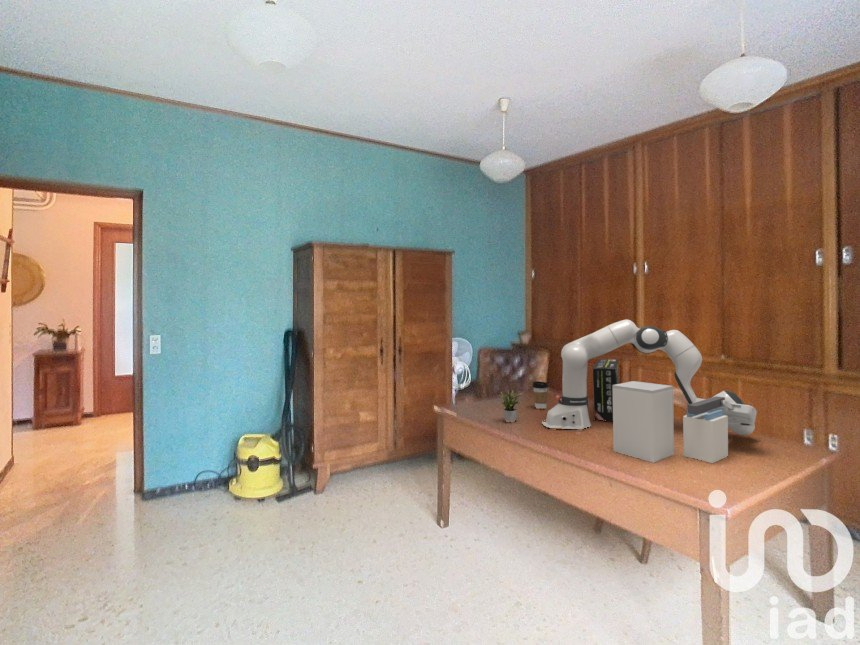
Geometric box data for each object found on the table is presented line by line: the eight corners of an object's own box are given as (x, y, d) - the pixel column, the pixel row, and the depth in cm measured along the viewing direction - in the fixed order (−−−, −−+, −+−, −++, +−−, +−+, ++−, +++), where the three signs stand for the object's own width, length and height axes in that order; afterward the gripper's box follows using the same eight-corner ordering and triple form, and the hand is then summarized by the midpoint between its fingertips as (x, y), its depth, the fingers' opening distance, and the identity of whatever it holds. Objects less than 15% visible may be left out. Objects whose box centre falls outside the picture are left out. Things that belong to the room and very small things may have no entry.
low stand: (699, 449, 174) (698, 406, 173) (728, 456, 166) (727, 410, 165) (683, 456, 167) (683, 410, 167) (712, 463, 159) (712, 415, 158)
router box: (598, 406, 253) (597, 358, 252) (619, 407, 248) (618, 359, 247) (593, 421, 220) (592, 367, 219) (617, 423, 216) (616, 367, 215)
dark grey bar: (716, 404, 174) (716, 396, 174) (724, 405, 171) (724, 397, 171) (687, 413, 161) (687, 404, 161) (696, 414, 159) (696, 406, 159)
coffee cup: (534, 407, 255) (533, 380, 254) (549, 407, 252) (548, 381, 251) (531, 410, 247) (531, 383, 246) (547, 411, 244) (547, 383, 243)
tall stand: (634, 444, 182) (633, 380, 181) (674, 454, 169) (673, 386, 168) (613, 451, 174) (612, 385, 174) (653, 462, 161) (652, 390, 160)
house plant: (528, 425, 215) (528, 392, 215) (500, 426, 216) (499, 392, 215) (523, 418, 230) (522, 386, 229) (496, 419, 230) (495, 387, 229)
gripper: (704, 402, 187) (689, 389, 180) (761, 410, 170) (748, 397, 163) (700, 416, 185) (685, 404, 178) (758, 426, 168) (744, 413, 161)
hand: (715, 401), depth 170 cm, fingers closed on dark grey bar, 3 cm apart
